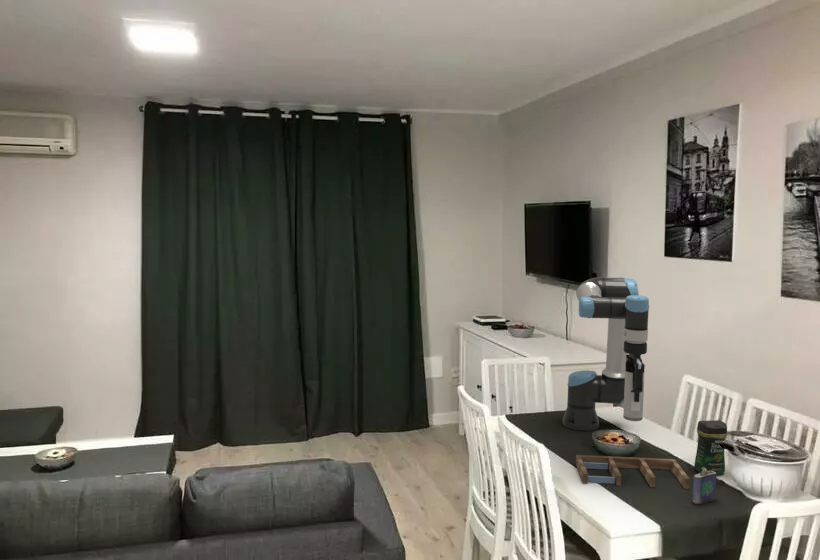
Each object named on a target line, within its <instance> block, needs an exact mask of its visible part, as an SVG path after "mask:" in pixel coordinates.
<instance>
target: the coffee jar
mask: <svg viewBox="0 0 820 560" xmlns="http://www.w3.org/2000/svg"><path fill="white" fill-rule="evenodd" d="M696 432H697V446H696V453H695V459H694V470H695V471H697V473H698V474H699V473H702V471H703V469H704V468H703V467H705V468H706V470H707V471H714V472H716V473H717V476H718V475H723V474H725V472H726V461H725V459H726V458H725V447H724V448H722V447H721V446H720V445H719V443H722V442H723V441H724V440H725V441H726V439H727V436H728V425H727V422H724V421H722V420H720V419H717V420H715V419H713V420H699V421H698V422H697V427H696ZM701 468H703V469H701Z"/></svg>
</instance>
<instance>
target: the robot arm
mask: <svg viewBox="0 0 820 560" xmlns="http://www.w3.org/2000/svg"><path fill="white" fill-rule="evenodd" d="M639 294H640V293H639V287H638V283H637V281H636V280H635V279H634V278H628V277H627V278H626V277H592V278H589V279H587V280H585V281H583V282H582V283H580V284H579V285H578V287H577V289H576V299H577V300H578V316H579V317H581V318H585V319H608V321H607V341H606V361H605V368H604V369H602V370H601V374H600V375H599V374H597V372H596V371H595V370H589V369H585V370H578V371H574V372H571V373H570V374H569V375H568V378H567V403H566V404H567V406H566V409H565V412H564V414H563V417H562V425H563V427H565V428H567V429H571V430H575V431H582V432H583V431H584V432H585V431H586V432H587V431H595V430H597V429H599V427H600V421H599V417H598V414H597V411H596V403H597V404H610V405H611V404H612V405H624V388H625V369H626V361H628V362H630V364H633V365H634V366H635V370H633V368H632V366H631V371H632V372H633V379H632V383H633V390H631V392H632V397H631V411H640V393H641V392H643V367H644V365H645V364H644V362H643V359H642V358H641V356H642V355H646V354H647V353H648V343H647V341H648V339H649V338H648V336H649V335H648V333H649V329H648V327H649V326H648V325H649V310H650V303H649V302H650V300H649V297H647V296H644V295H639Z"/></svg>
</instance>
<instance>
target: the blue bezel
mask: <svg viewBox="0 0 820 560" xmlns="http://www.w3.org/2000/svg"><path fill="white" fill-rule="evenodd" d="M583 463H584V466H585V468H586V470H588V469H590V470H608V471H609V469H608V463H594V462H583ZM588 483H589V484H590V483H591V484H614V485H616V483H615V477H612V476H606V475H605V476H603V475H588Z"/></svg>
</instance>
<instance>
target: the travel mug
mask: <svg viewBox="0 0 820 560" xmlns="http://www.w3.org/2000/svg"><path fill="white" fill-rule="evenodd" d="M631 366H632V368H633V370H635V366H634V365H633V364H630V362H628V361H626V369H625V388H624V404H623V415H622V416H623V419H624V420H626V421H630V422H641V421H642V420H643V416H644V413H643V412H644V395H645V374H646V373H645V368H646V367H645V366H646V365H645V364H644V367H643V392H641V393H640V411H631V397H632V392H631V390H633V383H632V379H633V372H632V371H631Z"/></svg>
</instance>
